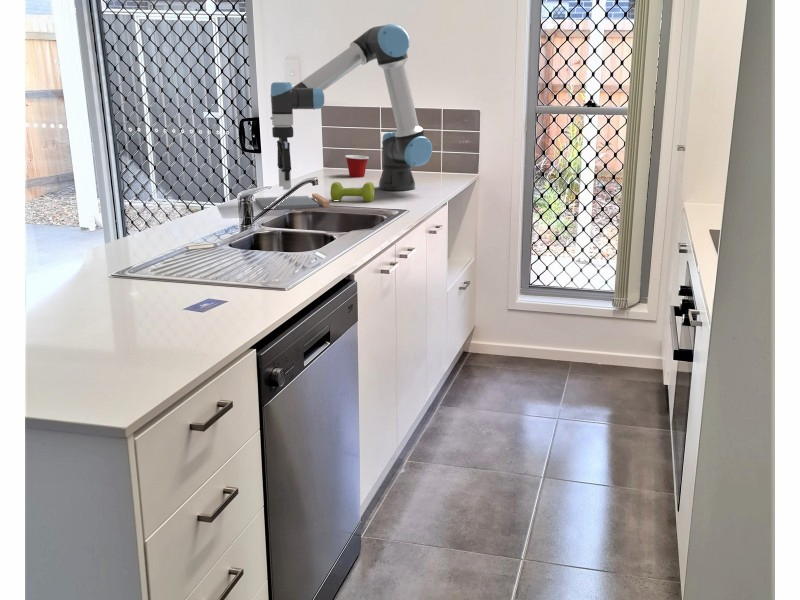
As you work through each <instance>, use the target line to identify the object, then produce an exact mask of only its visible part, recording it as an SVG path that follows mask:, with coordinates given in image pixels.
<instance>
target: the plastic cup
mask: <svg viewBox="0 0 800 600" xmlns="http://www.w3.org/2000/svg"><path fill="white" fill-rule="evenodd" d="M344 157H345V158H346V163H347V169H348V170H347V171H348V174H349V178H356V179H357V178H359V179H360V178H364V177H365V175H366V171H367V170H366V169H367V164H368V160H369V158H370V157H369V156H367V155H360V154H359V155H357V154H349V155H348V154H346V155H344Z"/></svg>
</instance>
